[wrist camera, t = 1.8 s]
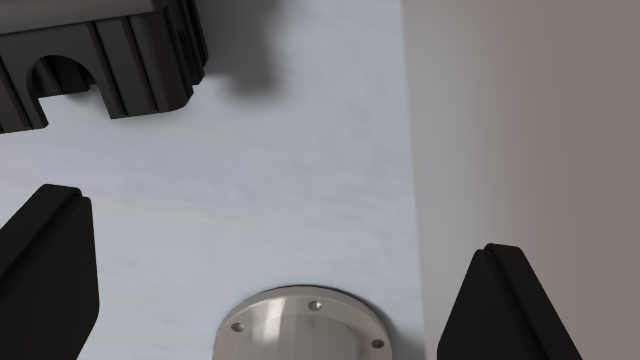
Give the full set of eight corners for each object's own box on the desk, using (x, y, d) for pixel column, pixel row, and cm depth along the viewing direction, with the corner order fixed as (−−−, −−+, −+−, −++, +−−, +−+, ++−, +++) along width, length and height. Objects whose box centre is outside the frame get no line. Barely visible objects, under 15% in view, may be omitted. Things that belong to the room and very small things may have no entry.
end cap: (182, -93, 22) (133, -87, 16) (220, 63, 26) (191, 114, 20) (-30, -59, 23) (-150, -41, 17) (35, 88, 26) (-46, 145, 21)
